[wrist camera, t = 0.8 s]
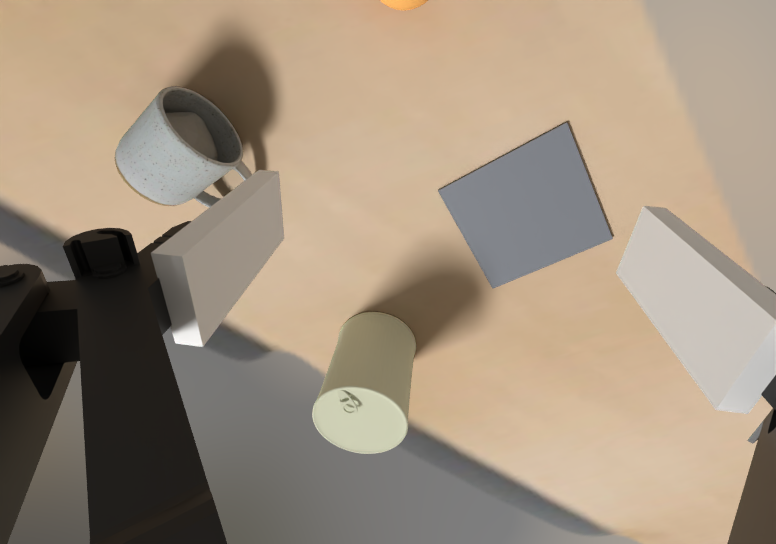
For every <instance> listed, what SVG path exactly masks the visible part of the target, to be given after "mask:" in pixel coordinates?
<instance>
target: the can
mask: <svg viewBox="0 0 776 544" xmlns="http://www.w3.org/2000/svg"><path fill="white" fill-rule="evenodd" d="M415 352H416V341H415V337H414V335H413V333H412V331H411V330H410V329H409V327H408V326H407V325H406V324H405V323H404V322H402V321H401V320H400V319H398V318H396V317H394V316H392V315H389V314H386V313H381V312H365V313H361V314H358V315H355V316H353V317H352V318H350V319H349V320H348V321H347V322H346V323H345V324H344V325H343V326H342V328H341V330H340V332H339V337H338V342H337V345H336V348H335V351H334V354H333V357H332V360H331V363H330V366H329V368H328V371H327V374H326V377H325V379H324V382H323V385H322V388H321V390H320V393H319V395H318V398H317V400H316V402H315V404H314V407H313V413H312V416H313V421H314V424H315V426H316V428H317V430H318V431H319V432H320V434H321V435H322V436H323V437H324V438H325V439H327V440H328V441H329V442H331V443H332V444H334V445H336V446H338V447H340V448H342V449H345V450H347V451H352V452H356V453H363V454H373V453H380V452H384V451H387V450H390V449H392V448H394V447H396V446H397V445H398V444H400V443H401V442H402V440H403V439H404V438H405V436H406V434H407V430H408V411H409V399H410V388H411V378H412V368H413V359H414V355H415Z"/></svg>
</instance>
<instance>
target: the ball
mask: <svg viewBox="0 0 776 544" xmlns="http://www.w3.org/2000/svg"><path fill="white" fill-rule="evenodd" d="M380 1H381V2H382V3H384V4H385V5H387V6H389V7H391V8H393V9H397V10H411V9H414V8H417V7H419V6H421V5H423V4H424V3H425V2H427V1H428V0H380Z"/></svg>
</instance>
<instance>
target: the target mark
mask: <svg viewBox="0 0 776 544" xmlns="http://www.w3.org/2000/svg"><path fill="white" fill-rule="evenodd" d="M438 192H439V194H440V195H441V197H442V199H443V201H444V202H445V204H446V206H447V208H448V210H449V211H450V213H451V215H452V217H453V219H454V220H455V222H456V224H457V226H458V228H459V229H460V231H461V233H462V235H463V236H464V238H465V240H466V242H467V244H468V245H469V247H470V249H471V251H472V253H473V254H474V256H475V258H476V260H477V261H478V263H479V265H480V267H481V269H482V270H483V272H484V274H485V276H486V278H487V279H488V281H489V283H490V285H491V286H492V288H496V287H498V286H500V285H503V284H505V283H508V282H510V281H512V280H515V279H517V278H520V277H522V276H524V275H527V274H529V273H532V272H534V271H537V270H539V269H541V268H544V267H546V266H549V265H551V264H553V263H556V262H558V261H561V260H563V259H565V258H568V257H570V256H573V255H575V254H577V253H580V252H582V251H585V250H587V249H590V248H592V247H594V246H597V245H599V244H602V243H604V242H606V241H609V240H611V239H613V238H612V236H611V233H610V230H609V228H608V225H607V223H606V220H605V218H604V215H603V213H602V210H601V208H600V205H599V202H598V200H597V197H596V195H595V192H594V190H593V187H592V185H591V182H590V180H589V177H588V174H587V172H586V169H585V167H584V164H583V162H582V159H581V157H580V154H579V152H578V149H577V146H576V144H575V141H574V139H573V136H572V134H571V131H570V129H569V126H568V124H567V122H566V123H564V124H562V125H560V126H558V127H556V128H554V129H552V130H551V131H549V132H547V133H545V134H543V135H541V136H539V137H537V138H535V139H534V140H532V141H530V142H528V143H526V144H524V145H522V146H520V147H519V148H517V149H515V150H513V151H511V152H509V153H507V154H505V155H503V156H502V157H500V158H498V159H496V160H494V161H492V162H490V163H488V164H487V165H485V166H483V167H481V168H479V169H477V170H475V171H473V172H472V173H470V174H468V175H466V176H464V177H462V178H460V179H458V180H456V181H455V182H453V183H451V184H449V185H447V186H445V187H443V188H441V189H440V190H438Z"/></svg>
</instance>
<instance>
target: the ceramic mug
mask: <svg viewBox="0 0 776 544" xmlns="http://www.w3.org/2000/svg"><path fill="white" fill-rule="evenodd" d="M242 156H243V148H242V143H241V141H240V138H239V135H238V134H237V132H236V130H235V128H234V127H233V125H232V124H231V123H230V121H229V120H228V119H227V117H226V116H225V115H224V114H223V113H222V112H221V111H220V110H219V109H218V108H217V107H216V106H215V105H214V104H213V103H212V102H211V101H209V100H207V99H206V98H204V97H203V96H202V95H200V94H198V93H197V92H195V91H192V90H190V89H187V88H184V87H177V86H172V87H168V88H165V89H163V90H162V91H160V92H159V94H158V95H157V96H156V97H155V99H154V100H153V101H152V102H151V103H150V105H149V106H148V107H147V108H146V109H145V111H144V112H143V113H142V114H141V115H140V117H139V118H138V119H137V120H136V122H135V123H134V124H133V125H132V126H131V127H130V128H129V130H128V131H127V132H126V133H125V134H124V136H123V137H122V139H121V140H120V142H119V144H118V147H117V149H116V153H115V163H116V167H117V169H118V172H119V174H120V175H121V177H122V178H123V180H124V181H125V182H126V183H127V185H128V186H129V187H130V188H131V189H133V190H134V191H135V192H136V193H138V194H139V195H140V196H142V197H143V198H145V199H147V200H149V201H151V202H153V203H156V204H160V205H164V206H175V205H180V204H183V203H185V202H187V201H189V200H191V199H193V198H194V199H196V200H197V201H198V202H200V203H201V204H203V205H205V206H207V207H211V206H212V205H214V204H215V203H216V202H218V201H219V200H220V198H217V197H214V196H211V195H209V194H208V193H206V192H204V191H203V190H205V189H206V188H207V187H208V186H210V185H211V184H213V183H214V182H215V181H217V180H218V179H220V178H221V177H222V176H223V175H225V174H226V173H228V172H229V171H230V170H232V169H234V170H236V171H237V172H238V173H239V174H240V176H241V177H242V178H243V180H244V181H245V180H246V179H248V178H249V177H250V176H251V175H252V174H251V172H250V171H249V169H248V168H247V167H246V165H245V164H244V163H243V162H242V161H241V160H242Z"/></svg>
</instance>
